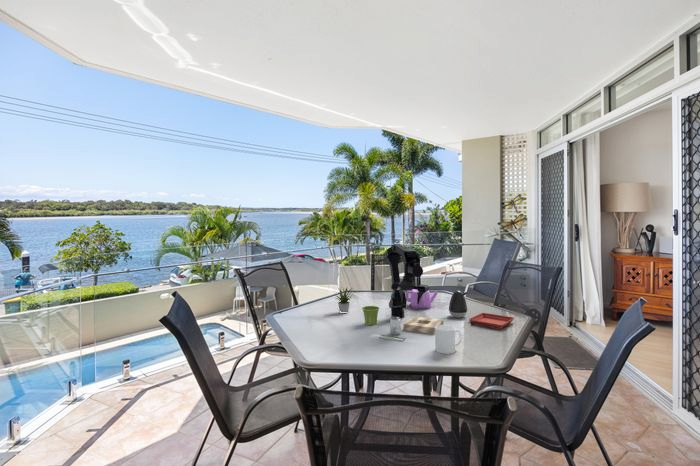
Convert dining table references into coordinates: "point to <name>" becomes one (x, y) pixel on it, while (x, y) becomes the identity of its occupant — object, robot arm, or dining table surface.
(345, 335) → the dining table surface
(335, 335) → the dining table surface
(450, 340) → the cup
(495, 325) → the plant saucer
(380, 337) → the mat
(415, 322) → the housing
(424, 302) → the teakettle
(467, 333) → the dining table surface
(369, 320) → the plant pot
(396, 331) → the grey metallic cylinder
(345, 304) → the house plant
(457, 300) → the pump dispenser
